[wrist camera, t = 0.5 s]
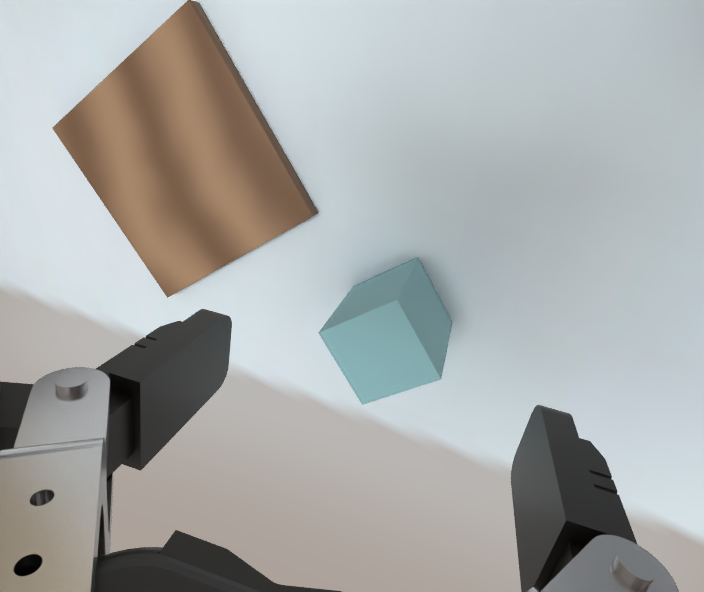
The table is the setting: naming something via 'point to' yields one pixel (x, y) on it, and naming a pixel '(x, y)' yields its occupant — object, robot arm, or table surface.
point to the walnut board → (184, 155)
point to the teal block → (390, 333)
